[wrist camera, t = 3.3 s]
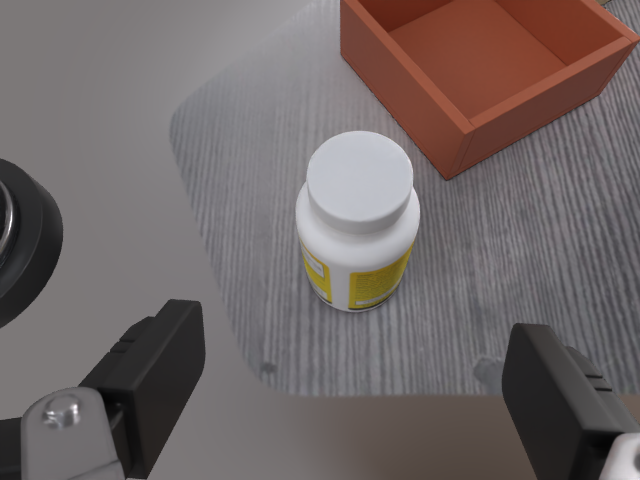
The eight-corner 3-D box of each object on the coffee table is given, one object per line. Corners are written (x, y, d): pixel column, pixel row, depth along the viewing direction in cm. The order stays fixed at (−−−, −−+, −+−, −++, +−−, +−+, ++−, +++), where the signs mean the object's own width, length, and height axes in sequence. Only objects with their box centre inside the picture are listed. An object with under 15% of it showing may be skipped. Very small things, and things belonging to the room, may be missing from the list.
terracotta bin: (446, 181, 28) (465, 134, 23) (340, 53, 32) (339, -5, 28) (599, 94, 30) (642, 37, 26) (479, -14, 34) (499, -77, 30)
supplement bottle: (413, 240, 26) (450, 136, 17) (385, 328, 24) (410, 262, 15) (325, 212, 27) (317, 100, 18) (291, 294, 25) (263, 214, 16)
